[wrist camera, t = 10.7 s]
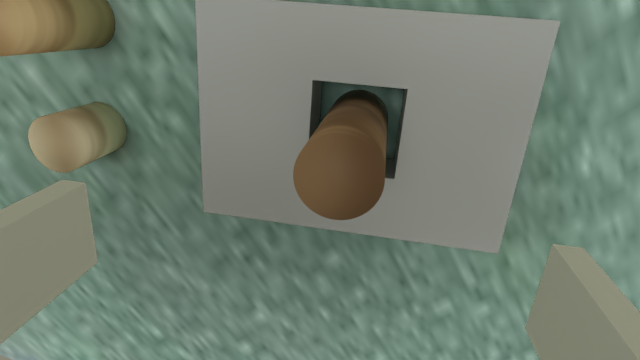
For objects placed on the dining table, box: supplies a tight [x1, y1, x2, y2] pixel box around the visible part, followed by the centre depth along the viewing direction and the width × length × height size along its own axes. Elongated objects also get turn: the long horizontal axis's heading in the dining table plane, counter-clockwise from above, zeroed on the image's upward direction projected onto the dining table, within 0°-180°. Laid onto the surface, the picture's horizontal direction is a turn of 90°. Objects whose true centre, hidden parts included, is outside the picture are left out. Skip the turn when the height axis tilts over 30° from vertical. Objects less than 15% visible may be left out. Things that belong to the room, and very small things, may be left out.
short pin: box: [28, 102, 127, 173], centre depth 30 cm, size 4×4×5 cm
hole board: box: [195, 0, 560, 254], centre depth 27 cm, size 20×14×4 cm
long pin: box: [293, 90, 388, 220], centre depth 23 cm, size 4×4×12 cm
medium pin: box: [0, 0, 115, 56], centre depth 26 cm, size 4×4×8 cm
